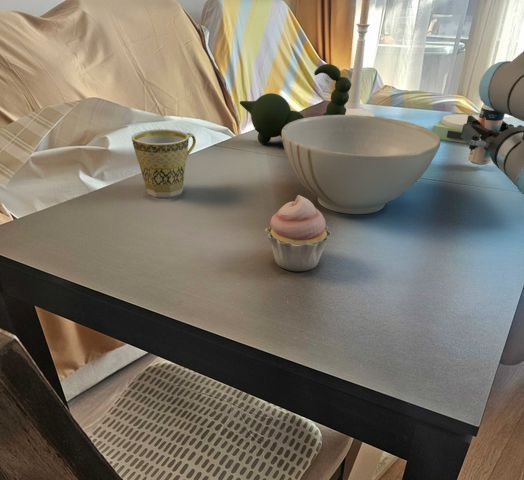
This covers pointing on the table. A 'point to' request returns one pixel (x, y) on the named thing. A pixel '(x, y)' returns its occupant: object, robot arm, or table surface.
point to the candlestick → (358, 67)
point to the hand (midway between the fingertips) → (481, 122)
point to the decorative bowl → (358, 159)
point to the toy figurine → (279, 113)
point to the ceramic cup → (162, 160)
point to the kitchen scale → (451, 127)
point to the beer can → (491, 122)
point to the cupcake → (298, 235)
